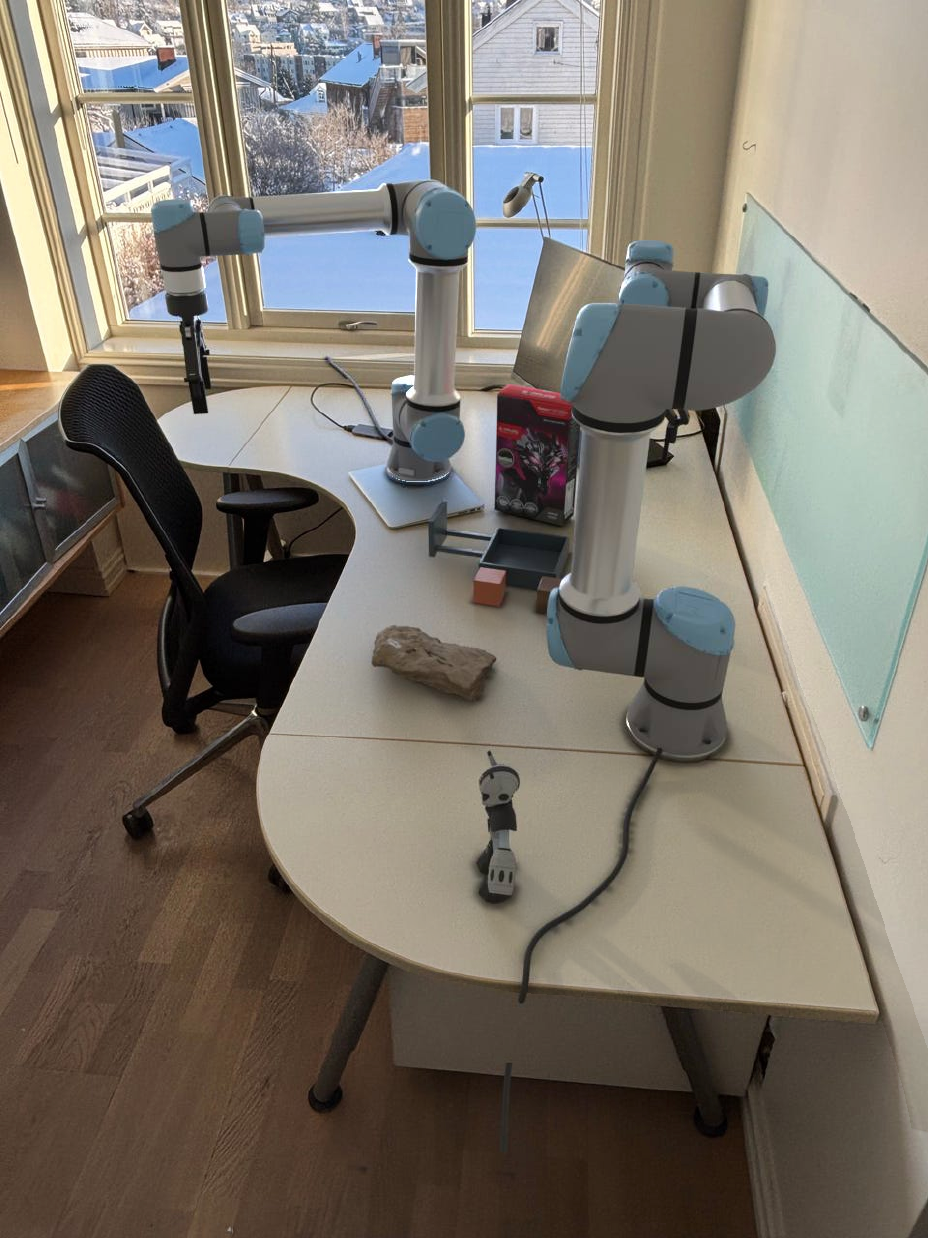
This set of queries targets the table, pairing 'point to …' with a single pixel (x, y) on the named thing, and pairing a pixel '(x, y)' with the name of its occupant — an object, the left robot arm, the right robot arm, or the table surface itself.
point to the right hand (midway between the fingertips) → (627, 454)
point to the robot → (498, 831)
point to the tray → (506, 550)
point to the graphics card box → (535, 454)
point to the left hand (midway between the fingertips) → (203, 400)
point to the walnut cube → (545, 592)
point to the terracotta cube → (489, 586)
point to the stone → (433, 661)
